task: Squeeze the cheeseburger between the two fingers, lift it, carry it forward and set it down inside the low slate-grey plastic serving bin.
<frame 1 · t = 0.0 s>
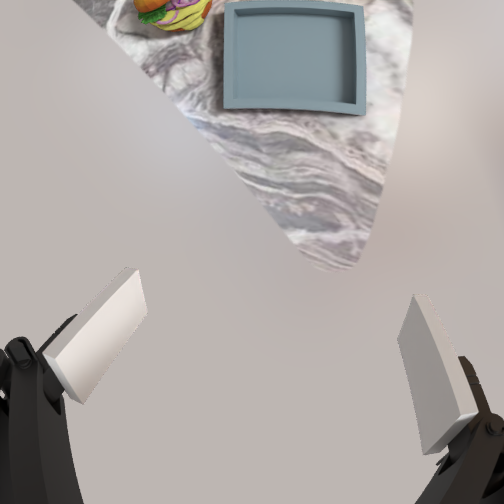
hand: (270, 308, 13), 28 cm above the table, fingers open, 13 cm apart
cheeseburger: (181, 5, 29), on the table
bin: (295, 55, 30), on the table
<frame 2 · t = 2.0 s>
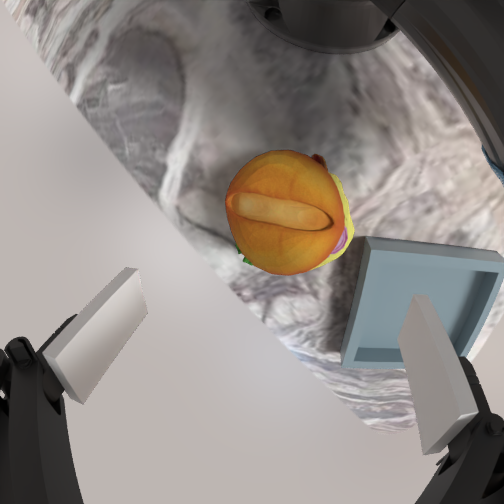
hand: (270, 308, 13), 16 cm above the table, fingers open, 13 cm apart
cheeseburger: (292, 206, 27), on the table
bin: (421, 304, 28), on the table
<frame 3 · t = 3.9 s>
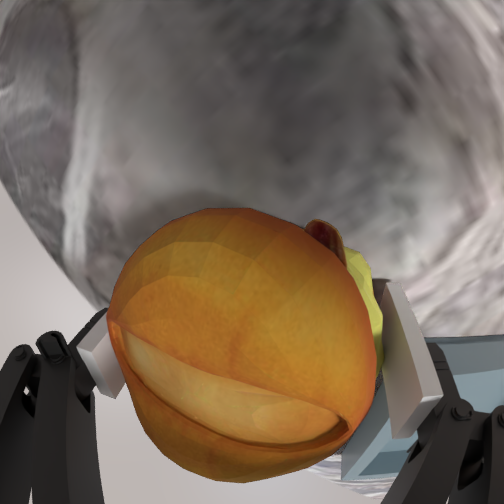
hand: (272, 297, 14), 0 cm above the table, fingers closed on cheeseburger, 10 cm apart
cheeseburger: (268, 293, 14), on the table, touching gripper
bin: (459, 404, 16), on the table
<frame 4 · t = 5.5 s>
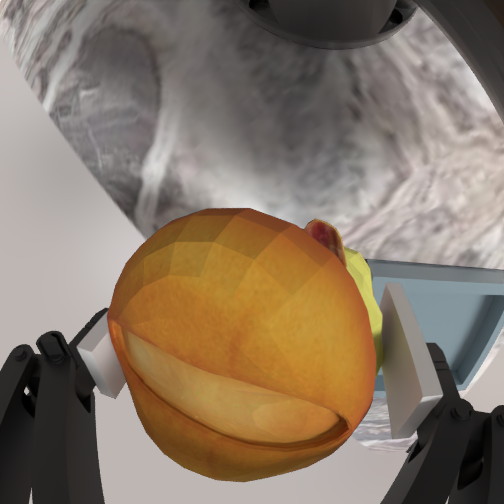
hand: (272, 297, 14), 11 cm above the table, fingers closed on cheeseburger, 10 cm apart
cheeseburger: (268, 293, 14), point 10 cm above the table, touching gripper
bin: (426, 329, 25), on the table
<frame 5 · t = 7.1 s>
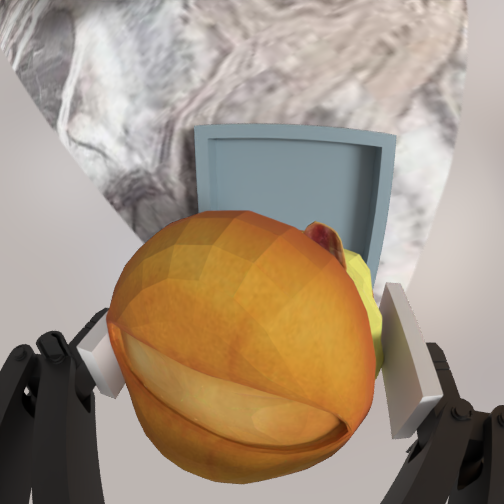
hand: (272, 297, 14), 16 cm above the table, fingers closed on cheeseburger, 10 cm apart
cheeseburger: (267, 295, 14), point 15 cm above the table, touching gripper
bin: (293, 202, 28), on the table
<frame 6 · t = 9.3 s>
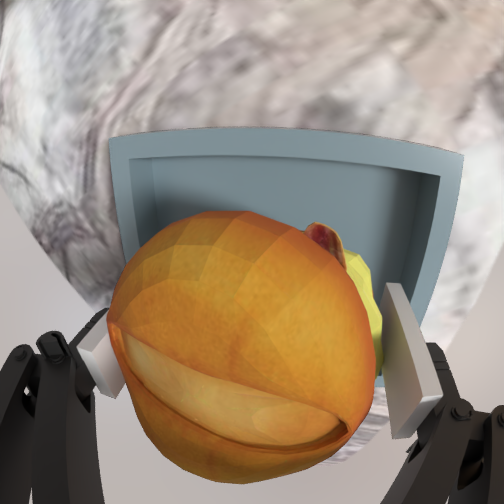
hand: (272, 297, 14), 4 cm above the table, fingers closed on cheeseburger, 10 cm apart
cheeseburger: (268, 295, 14), point 3 cm above the table, touching gripper
bin: (280, 259, 17), on the table
when the fingers open (4 cm above the table, at t = 10.3 s): cheeseburger drops 3 cm, resting on bin.
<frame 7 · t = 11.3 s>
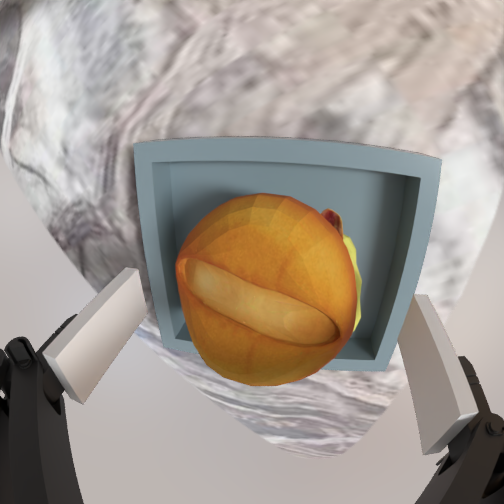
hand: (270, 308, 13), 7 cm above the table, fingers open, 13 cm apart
cheeseburger: (278, 264, 19), resting on bin
bin: (282, 253, 19), on the table
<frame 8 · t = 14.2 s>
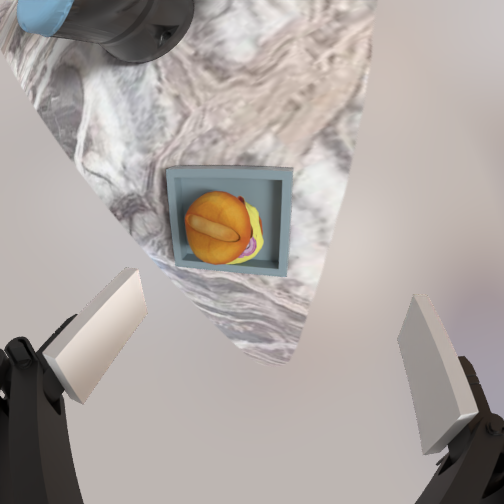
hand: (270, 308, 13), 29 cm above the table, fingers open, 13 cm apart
cheeseburger: (230, 222, 42), resting on bin
bin: (231, 216, 42), on the table
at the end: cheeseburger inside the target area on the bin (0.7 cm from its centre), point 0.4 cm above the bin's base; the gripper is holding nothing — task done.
